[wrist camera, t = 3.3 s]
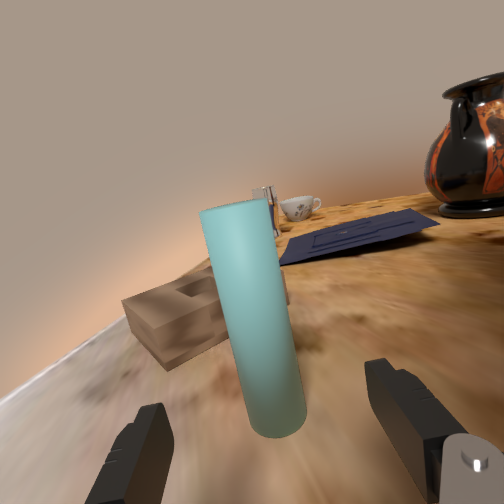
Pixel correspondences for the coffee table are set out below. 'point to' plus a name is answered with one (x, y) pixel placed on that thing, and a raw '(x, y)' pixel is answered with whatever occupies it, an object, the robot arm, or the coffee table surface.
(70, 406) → the coffee table surface
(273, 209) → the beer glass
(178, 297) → the walnut block
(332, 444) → the coffee table surface
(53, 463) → the coffee table surface
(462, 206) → the amphora vase
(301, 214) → the teacup
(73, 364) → the coffee table surface
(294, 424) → the teal pin
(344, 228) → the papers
